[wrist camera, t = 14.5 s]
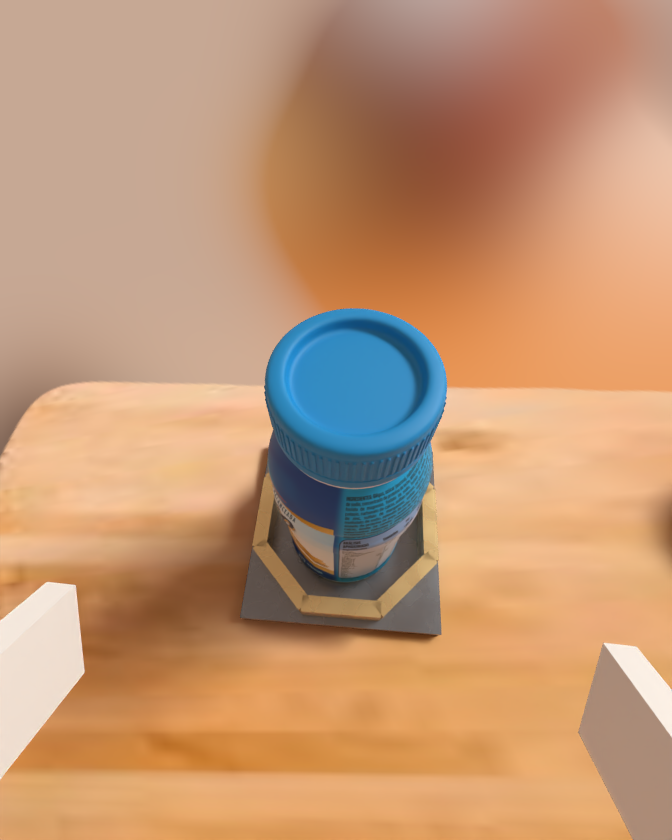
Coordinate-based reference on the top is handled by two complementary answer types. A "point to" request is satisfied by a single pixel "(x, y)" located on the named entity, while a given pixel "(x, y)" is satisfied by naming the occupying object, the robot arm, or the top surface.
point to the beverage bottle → (352, 436)
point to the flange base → (345, 601)
